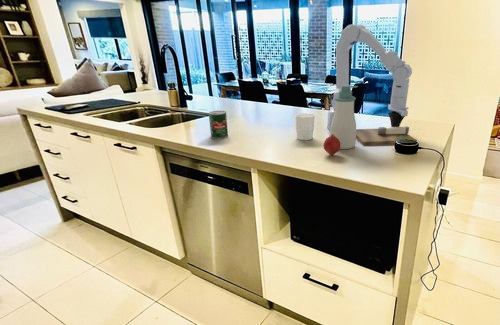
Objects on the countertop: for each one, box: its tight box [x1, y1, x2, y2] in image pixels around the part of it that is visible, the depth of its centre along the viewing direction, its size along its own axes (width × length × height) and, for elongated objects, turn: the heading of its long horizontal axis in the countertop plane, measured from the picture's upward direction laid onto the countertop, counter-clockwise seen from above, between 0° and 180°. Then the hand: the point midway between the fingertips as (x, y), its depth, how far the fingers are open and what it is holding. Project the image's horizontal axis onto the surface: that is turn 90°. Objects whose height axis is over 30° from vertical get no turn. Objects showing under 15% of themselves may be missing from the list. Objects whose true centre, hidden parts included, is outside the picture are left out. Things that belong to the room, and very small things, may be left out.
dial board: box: [356, 128, 418, 146], centre depth 123 cm, size 20×18×2 cm
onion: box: [323, 134, 341, 156], centre depth 106 cm, size 6×6×8 cm
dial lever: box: [377, 125, 410, 135], centre depth 122 cm, size 12×3×3 cm, turn 87°
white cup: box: [295, 112, 316, 141], centre depth 126 cm, size 8×8×10 cm
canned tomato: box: [208, 110, 229, 139], centre depth 135 cm, size 8×8×11 cm
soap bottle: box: [328, 85, 358, 150], centre depth 112 cm, size 10×10×23 cm
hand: (394, 129), depth 124 cm, fingers closed
